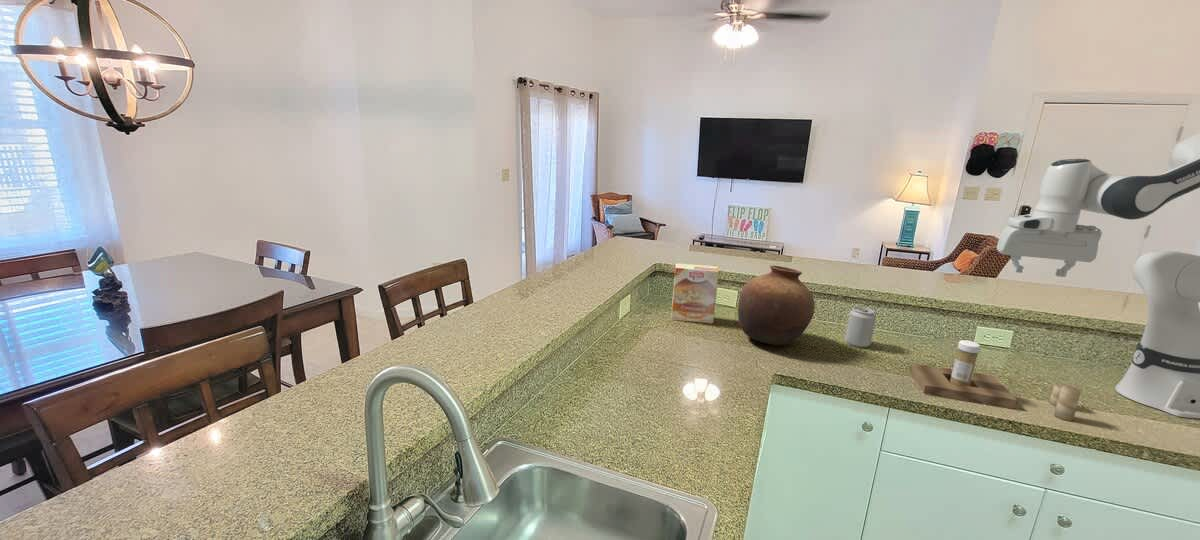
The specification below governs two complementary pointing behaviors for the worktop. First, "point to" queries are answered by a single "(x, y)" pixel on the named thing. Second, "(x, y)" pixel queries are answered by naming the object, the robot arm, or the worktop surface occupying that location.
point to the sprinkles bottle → (964, 363)
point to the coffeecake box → (694, 293)
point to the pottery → (775, 307)
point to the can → (860, 327)
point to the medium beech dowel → (1067, 403)
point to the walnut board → (962, 386)
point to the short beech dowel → (1055, 394)
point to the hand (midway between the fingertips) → (1038, 274)
